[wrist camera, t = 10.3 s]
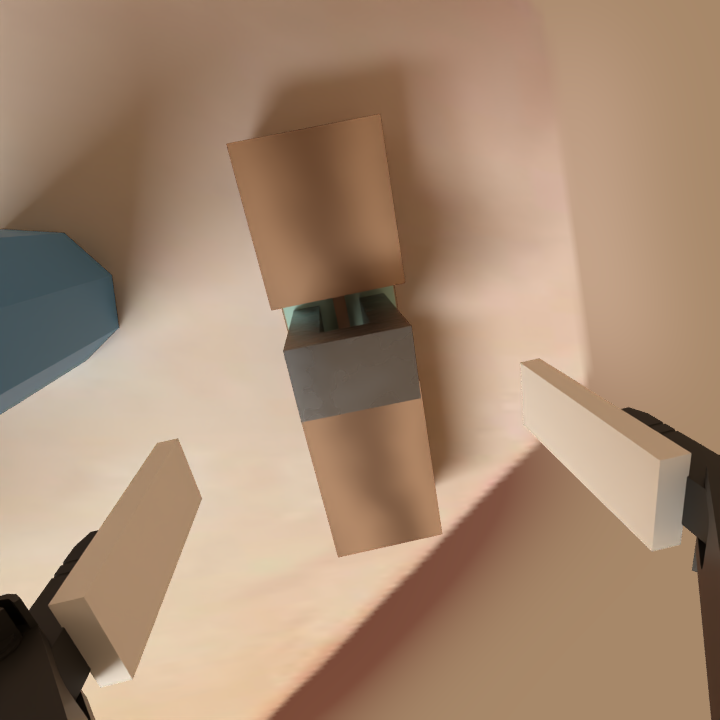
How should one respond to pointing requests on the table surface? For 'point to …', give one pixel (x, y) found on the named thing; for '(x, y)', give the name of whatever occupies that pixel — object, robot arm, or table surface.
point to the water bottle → (48, 310)
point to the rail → (341, 313)
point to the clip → (351, 361)
